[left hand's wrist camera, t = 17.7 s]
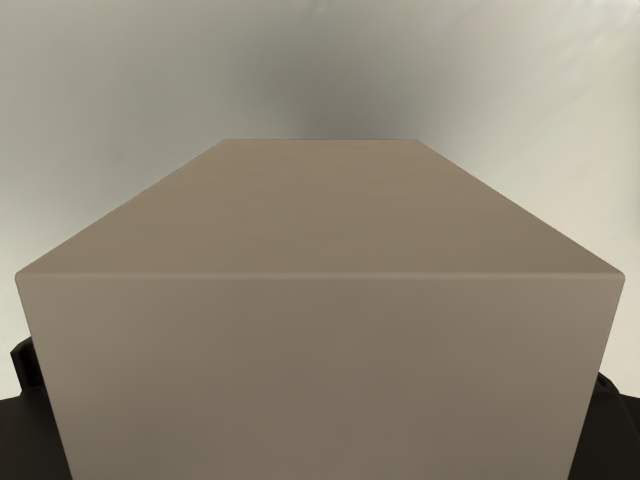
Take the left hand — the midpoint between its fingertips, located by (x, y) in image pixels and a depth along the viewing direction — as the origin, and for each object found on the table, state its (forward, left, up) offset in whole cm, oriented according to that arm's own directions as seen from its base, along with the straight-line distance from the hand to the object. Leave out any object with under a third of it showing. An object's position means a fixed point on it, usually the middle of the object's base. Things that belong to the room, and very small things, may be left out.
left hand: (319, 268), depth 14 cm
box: (+8, +2, -1) cm, 9 cm away
